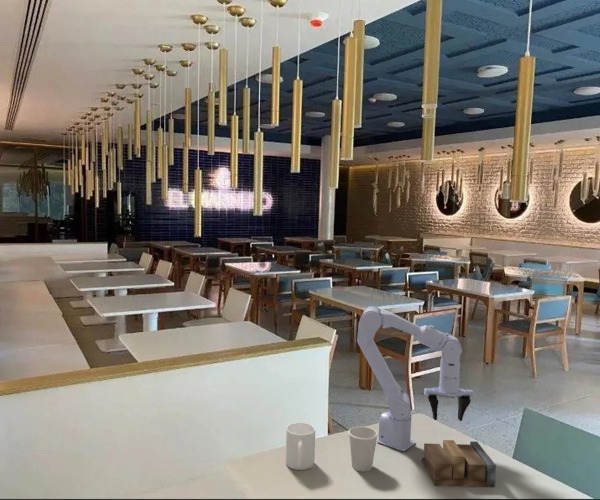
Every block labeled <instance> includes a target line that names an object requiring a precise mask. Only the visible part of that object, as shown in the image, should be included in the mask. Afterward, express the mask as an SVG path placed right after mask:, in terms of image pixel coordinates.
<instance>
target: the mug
mask: <svg viewBox="0 0 600 500" xmlns="http://www.w3.org/2000/svg"><path fill="white" fill-rule="evenodd" d="M285 434H286V435H285V465H286V466H287V467H288V468H289V469H291V470H295V471H305V470H310V469H311V468H312V467H313V466H314V464H315V461H316V460H315V459H316V457H315V456H316V455H315V454H316V451H315V450H316V427H315V426H314V425H312V424H310V423H305V422H293V423H290V424H288V425H287V426H286V430H285Z"/></svg>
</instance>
